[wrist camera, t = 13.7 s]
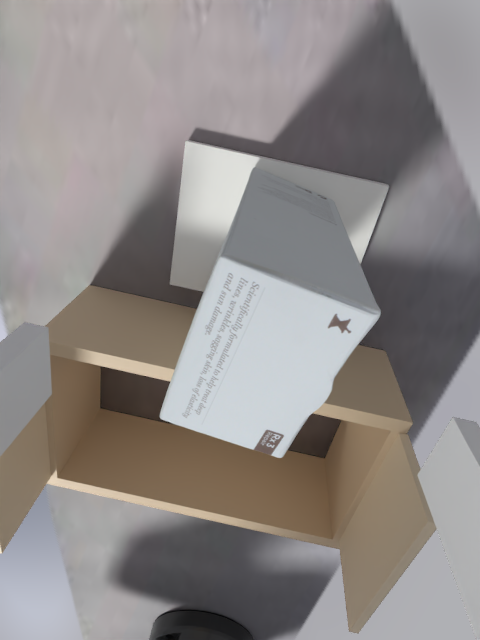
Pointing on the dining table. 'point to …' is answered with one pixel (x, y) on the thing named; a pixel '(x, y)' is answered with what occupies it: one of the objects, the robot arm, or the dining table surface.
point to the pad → (225, 195)
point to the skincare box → (271, 320)
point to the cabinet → (223, 450)
